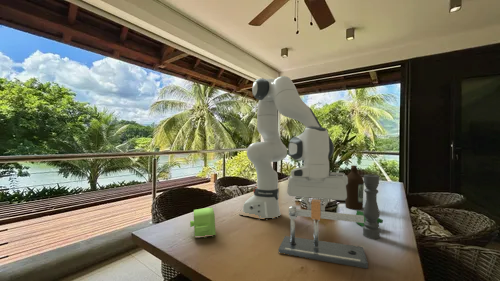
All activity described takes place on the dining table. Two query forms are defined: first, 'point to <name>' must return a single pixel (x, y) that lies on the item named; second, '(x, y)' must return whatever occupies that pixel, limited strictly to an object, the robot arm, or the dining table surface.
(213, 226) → the gearbox
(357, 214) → the clamp
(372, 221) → the candle holder
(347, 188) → the olive oil
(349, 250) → the bolt plate
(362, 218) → the dividers frame
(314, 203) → the leg
